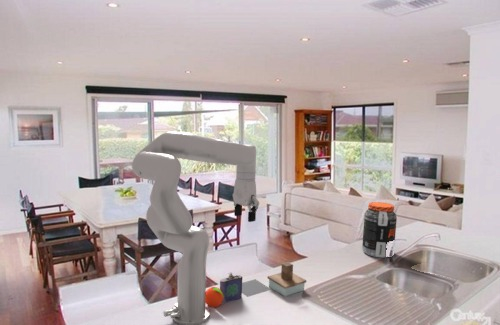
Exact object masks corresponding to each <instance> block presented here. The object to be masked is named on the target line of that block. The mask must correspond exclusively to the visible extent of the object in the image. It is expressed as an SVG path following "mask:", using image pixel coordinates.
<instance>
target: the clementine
mask: <svg viewBox="0 0 500 325" xmlns="http://www.w3.org/2000/svg"><path fill="white" fill-rule="evenodd" d="M223 298H224V296H223V293H222V291H221V290H220V287H219V288H218V287H217V286H212V287H210V288H207V289H206V304H205V305H207V306H208V307H210V308H217V307H219V306H221V304H223V303H222V301H223Z"/></svg>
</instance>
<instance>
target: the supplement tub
mask: <svg viewBox="0 0 500 325" xmlns="http://www.w3.org/2000/svg"><path fill="white" fill-rule="evenodd" d="M367 207H368V208H367V209H366V210H365V213H364V215H363V216H364V218H363V232H362V245H361V247H362V248H361V249H362V251H363V253H365V254H366V255H369V256H371V257H374V258H381V259H383V258H384V259H385V258H387V257H386V250H387V248H386V244H387V242H389V241H393V240H395V241H396V230H397V220H398V219H397V214H396V213H395V212H394V211H395V206H394V205H393V204H392V203H388V202H380V201H371V202H369V203H368V206H367Z"/></svg>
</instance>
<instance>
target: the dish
mask: <svg viewBox="0 0 500 325" xmlns="http://www.w3.org/2000/svg"><path fill="white" fill-rule="evenodd" d="M268 280H269V279H268ZM305 284H306V283H303V284H299V285H296V286H293V287H290V288H286V289H284V288H283V287H281V286H279V285H278V284H276V283H274V282H273V281H271V280H269V281H268V287H269V288H270V289H271V290H273V291H276V292H277V293H279V295H282V296H283V297H288V296H291V295H294V294H296V293H300V292H304V291H305Z"/></svg>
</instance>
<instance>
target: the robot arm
mask: <svg viewBox="0 0 500 325" xmlns="http://www.w3.org/2000/svg"><path fill="white" fill-rule="evenodd" d="M179 159H181V160H189V161H196V162H203V163H209V164H215V165H216V164H218V165H221V164H222V165H223V164H225V165H228V166H229V165H231V166H236V169H235V170H236V174H235V175H236V176H235V177H236V178H235V180H234V187H233V193H232V194H231V195H232V199H233V200H232V201H233V206H234V212H233V213H234V217H238V216H242V214H243V207H247V209H248V215H247V221H248V223H252V222H256V220H257V217H256V216H257V210H258V209H259V205H260V201H259V200H258V199H257V184H256V168H257V167H256V166H257V147H256V146H255V145H254V144H247V143H246V144H241V143H236V142H231V141H226V140H221V139H218V138H213V137H207V136H205V135H204V136H203V135H199V134H196V133H192V132H185V131H166V132H163V133H161V134H160V135H158V136H157V137H156V138H154V139H153V140H151V141H150V142H149V143H148V144H147V145H146V146H144V147H143V148H142V149H141V150H139V151H138V153H137V154H136V155H134V158H133V159H132V163H131V168H132V169H131V170H132V172H133V173H134V175H136V176H137V177H138V178H140V179H144V180H147V181H148V180H149V181H153V184H152V188H151V190H150V191H151V192H150V196H149V202H150V205H149V206H148V208H147V211H146V216H145V217H146V223H147V225H148V227H149V229H151V231H152V232H153V233H154V235H155V236H156V238H157V239H158V240H159V241H160V243H161V244H162V245H163V246H164V247H165V248H167V249H170V250H173V251H176V252H179V253H180V254H182V257H181V259H180V260H179V262H178V264H177V265H178V266H177V300H176V301H177V303H174V307H172V308H171V309H167V310H164V311H163V312H162V313H163V317H164V318H165V317H166V318H167V317H170V319H172V320H173V321H174V322H175V323H177V324H180V325H201V324H204V323H205V322H207V321H208V320H209V318H210V316H211V310H210V309H209V308H208V307H207V306H206V305H207V304H206V291H207V288H206V286H207V257H208V251H209V246H210V236H209V234H208V232H207V231H206V230H205V229H203V228H201V227H199V226H197V225H196V226H195V225H193V217H192V215H191V212H190V211H189V208H187V206H186V205H185V203H184V201H183V200H182V199H181V197H180V195H179V193H178V184H179V180H180V177H181V173H182V165H181V163H180V160H179Z"/></svg>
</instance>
